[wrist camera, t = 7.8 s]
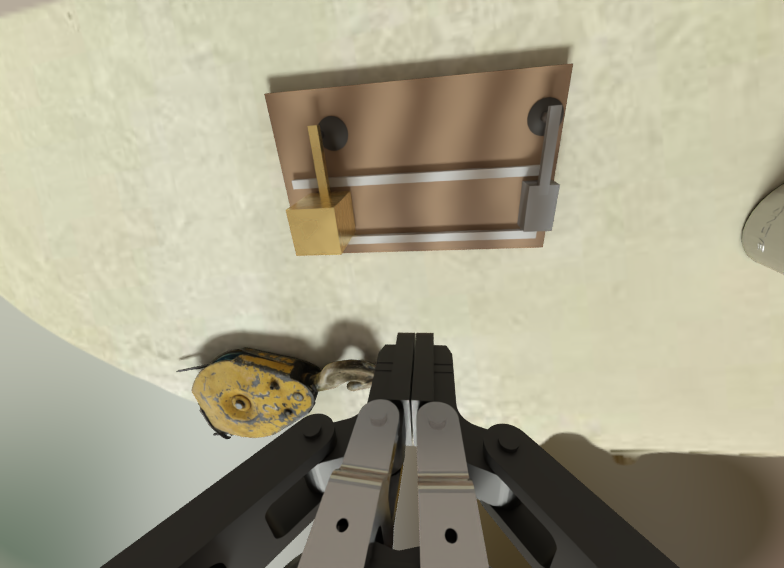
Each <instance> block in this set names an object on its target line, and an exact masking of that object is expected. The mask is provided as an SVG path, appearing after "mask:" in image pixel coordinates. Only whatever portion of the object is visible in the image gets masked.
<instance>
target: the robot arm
mask: <svg viewBox="0 0 784 568" xmlns="http://www.w3.org/2000/svg"><path fill="white" fill-rule="evenodd" d="M742 244H743V248H744V251H745V252H746V254H747V255H748V256H749V257H750V258H751V259H752V260H754V261H755V262H758V263H760V264H762V265H764V266H766V267H768V268H771V269H773V270H775V271H777V272H779V273H781V274H784V184H782V185H781V186H779V187H778V188H777V189H775V190H774V191H772V192H771V193H770V194H769V195H768V196H767V197H765V198H764V199H763V200H762V201H761V202H760V203H759V205H758V206H757V207H756V208H755V209H754V210H753V212H752V213H751V215H750V217H749V218H748V220H747V222H746V224H745V227H744V230H743V235H742ZM412 439H414V446H417V466H418V501H419V502H418V504H419V535H420V546H419V547H414V548H410V549H405V550H400V551H398V550H394V549H393V541H394V540H393V539H394V525H395V517H396V512H397V505H398V499H399V493H400V487H401V480H402V474H403V466H404V465H403V463H404V458H405V446H406V445H407V446H412ZM476 498H477V499H479V500H480V502H481V503H482V506H483V507H484V508H485V510H486V511H487V512H488V513H489V515H490V516H491V517H492V518H493V519H494V521H495V522H496V523H497V525H498V526H499V527H500V528H501V529H502V531H503V532H504V533H505V534H506V536H507V537H508V538H509V539H510V541H511V542H512V543H513V544H514V546H515V547H516V548H517V549H518V550H519V552H520V553H521V554H522V555H523V557H524V558H525V559H526V560H527V561H528V563H529V564H530V565H531V566H532V567H533V568H679V567H678V566H677V565H676V564H675V563H673V562H672V561H671V560H670V559H669V558H668V557H666V556H665V555H664V554H663V553H662V552H661V551H660V550H658V549H657V548H656V547H655V546H654V545H653V544H652V543H650V542H649V541H648V540H647V539H646V538H645V537H644V536H642V535H641V534H640V533H639V532H638V531H637V530H635V529H634V528H633V527H632V526H631V525H630V524H629V523H627V522H626V521H625V520H624V519H623V518H622V517H621V516H619V515H618V514H617V513H616V512H615V511H614V510H612V509H611V508H610V507H609V506H608V505H607V504H606V503H604V502H603V501H602V500H601V499H600V498H599V497H597V496H596V495H595V494H594V493H593V492H592V491H591V490H589V489H588V488H587V487H586V486H585V485H584V484H583V483H581V482H580V481H579V480H578V479H577V478H576V477H574V476H573V475H572V474H571V473H570V472H569V471H568V470H567V469H565V468H564V467H563V466H562V465H561V464H560V463H558V462H557V461H556V460H555V459H554V458H553V457H552V456H550V455H549V454H548V453H547V452H546V451H545V450H544V449H542V448H541V447H540V446H539V445H538V444H537V443H536V442H534V441H533V440H532V439H531V438H530V437H529V436H528V435H526V434H525V433H524V432H523V431H522V430H520V429H519V428H517V427H515V426H512V425H509V424H496V425H493V426H491V427H490V428H489V429H488V430H487V429H484V428H482V427H479V426H476V425H473V424H471V423H470V422H468V421H467V420H465V419H464V418H463V417H462V416H461V415H460V413H459V411H458V409H457V406H456V395H455V383H454V370H453V358H452V353H451V352H450V350H449V349H448V347H447V346H443V345H434V335H433V333H416V337H415V333H398V335H397V341H396V345H385V346H384V347H383V348H382V349H381V351H380V352H379V354H378V358H377V364H376V367H375V372H374V376H373V381H372V385H371V389H370V394H369V398H368V402H367V404H365V405H364V406H363V407H362V408H361V410H360V412H359V414H357V415H356V416H354V417H352V418H349V419H345V420H341V421H337V422H333V421H332V419H331V418H330V417H328V416H326V415H324V414H312V415H309V416H307V417H305V418H303V419H302V420H300V421H299V422H297V423H296V424H295V425H293V426H292V427H291V428H289V429H288V430H287V431H285V432H284V433H283V434H281V435H280V436H278V437H277V438H276V439H274V440H273V441H272V442H270V443H269V444H268V445H266V446H265V447H263V448H262V449H261V450H260V451H258V452H257V453H255V454H254V455H253V456H251V457H250V458H249V459H247V460H246V461H245V462H243V463H242V464H240V465H239V466H238V467H236V468H235V469H234V470H233V471H231V472H229V473H228V474H227V475H225V476H224V477H223V478H221V479H220V480H219V481H217V482H216V483H214V484H213V485H212V486H210V487H209V488H208V489H206V490H205V491H204V492H202V493H201V494H200V495H198V496H197V497H195V498H194V499H193V500H191V501H190V502H189V503H187V504H186V505H184V506H183V507H182V508H180V509H179V510H178V511H176V512H175V513H174V514H172V515H171V516H170V517H168V518H167V519H165V520H164V521H163V522H161V523H160V524H159V525H157V526H156V527H155V528H153V529H152V530H151V531H149V532H148V533H146V534H145V535H144V536H142V537H141V538H140V539H138V540H137V541H136V542H134V543H133V544H131V545H130V546H129V547H127V548H126V549H125V550H123V551H122V552H121V553H119V554H118V555H116V556H115V557H114V558H112V559H111V560H110V561H108V562H107V563H106V564H104V565H103V566H102V567H100V568H265V567H266V566H267V565H268V564H269V563H270V562H271V561H272V560H273V559H274V558H275V557H276V556H277V555H278V554H279V553H280V552H281V551H282V550H283V549H284V548H285V547H286V546H287V545H288V544H289V543H290V542H291V541H292V540H294V539H295V537H297V536H298V535H299V534H300V533H301V532H302V531H303V530H304V529H305V528H306V527H307V526H308V525H309V524H310V523H311V522H312V521H313V520H314V519H315V520H314V522H313V525H312V528H311V531H310V534H309V537H308V539H307V543H306V545H305V548H304V551H303V553H301V554H300V555H298V556H297V557H295V558H294V559H293V560H292V561H291V562H289V563H288V564H287V565H286V566H285V567H284V568H492V567H490V566H489V565H488V560H487V555H486V549H485V544H484V538H483V533H482V527H481V522H480V517H479V511H478V506H477V500H476Z"/></svg>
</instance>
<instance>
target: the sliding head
mask: <svg viewBox="0 0 784 568" xmlns="http://www.w3.org/2000/svg"><path fill="white" fill-rule="evenodd" d="M307 127H308V132H309V138H310V143H311V149H312V154H313V160H314V165H315V171H316V176H317V182H318V187H319V193H310V194H308V195H307V196H305V197H304V198H303V199H301V200H300V201H298V202H297V203H295V204H294V205H292V206H291V207H289V208H288V209H287V210H286V213H287V218H288V222H289V226H290V230H291V234H292V239H293V243H294V247H295V251H296V256H305V255H341V254H342V253H343V251H344V249H345V248H346V246H347V245H348V243H349V241H350V240H351V238H352V236H353V235H354V233H355V232H356V229H355V221H354V214H353V206H352V199H351V192H350V191H341V192H331V191H330V185H329V179H328V173H327V166H326V160H325V154H324V148H323V142H322V139H324V136H325V135H324V132H323V131H322V130H320V125H313V126H307Z"/></svg>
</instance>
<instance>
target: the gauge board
mask: <svg viewBox="0 0 784 568" xmlns="http://www.w3.org/2000/svg"><path fill="white" fill-rule="evenodd" d="M572 67H573V64H563V65H553V66H543V67H533V68H522V69H512V70H502V71H492V72H482V73H471V74H461V75H451V76H441V77H431V78H420V79H410V80H400V81H390V82H380V83H369V84H359V85H349V86H339V87H329V88H318V89H308V90H298V91H288V92H278V93H267V94H264V95H265V99H266V103H267V108H268V112H269V116H270V121H271V125H272V129H273V134H274V138H275V142H276V147H277V151H278V156H279V160H280V164H281V169H282V173H283V177H284V182H285V186H286V190H287V195H288V199H289V203H290V207H291V206H292V205H294V204H295V203H297V202H298V201H300V200H301V199H303V198H304V197H305V196H307V195H308V194H310V193H319V187H318V182H317V176H316V171H315V165H314V160H313V154H312V149H311V143H310V138H309V132H308V127H307V126H313V125H320V130H322V131H323V132H324V135H325V136H324V139H322V142H323V148H324V154H325V160H326V166H327V173H328V179H329V185H330V191H331V192H341V191H350V192H351V199H352V206H353V214H354V221H355V229H356V232H355V233H354V235H353V236H352V238H351V240H350V241H349V243H348V245H347V246H346V248H345V249H344V251H343V253H363V252H398V251H432V250H467V249H501V248H536V247H543V243H544V237H545V231H552V227H553V221H554V215H555V209H556V204H557V198H558V192H559V187H560V184H558V183H556V182H554V176H555V170H556V164H557V158H558V152H559V146H560V140H561V134H562V128H563V122H564V116H565V110H566V104H567V98H568V92H569V86H570V79H571V73H572Z"/></svg>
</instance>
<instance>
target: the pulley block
mask: <svg viewBox="0 0 784 568" xmlns="http://www.w3.org/2000/svg"><path fill="white" fill-rule="evenodd" d="M205 367H206V368H205ZM375 367H376V365H375V364H372V363H369V362H367V361H364V360H342V361H336V362H332V363H330V364H328V365H326V366H325V367H324V368H323V370H322V371H321V370H320V369H319V368H318V367H317V366H315V365H313V364H311V363H308V362H305V361H302V360H299V359H295V358H290V357H286V356H280V355H275V354H271V353H267V352H262V351H258V350H254V349H249V348H243V349H242V350H239V349H237V350H230V351H227V352H225V353H223V354H221V355H219V356H218V357H217V358H215V359H214V360H213V362H212V363H211V364H207V365H202V366H197V367H192V368H187V369H183V370H178V371H176V372H181V371H188V370H193V369H201V368H204V369H203V370H202V371H201V372H199V374H198V375H197V377H196V378H195V381H194V383H193V387H192V393H193V394H194V396H195V398H196V399H197V401H198V405H199V406H200V412H201V414H202V415H203V416H204V418H205V420H206V421H207V423H208V425H209V426H210V427H211V428H212V429H213V430H214V431H216V432H217V433H214V434H213V435H220V436H221V437H223V438H225V439H230V438H231V437H229V436H227V434H228V433H229V434H230V435H231V436H232V435H237V436H241V437H249V438H259V437H266V436H270V435H274V434H276V433H277V432H279V431H281V430H283V429H284V428H286V427H288V426H289V425H291V424H293V423H294V422H296V421H297V420H299V419H301V418H302V417H304V416H305V415H307V414H308V413H309V412H310V411H311V410H312V408H313V406H314V405H315V403H316V402H315V400H316V397H317V394H318V391H324V390H329V389H333V388H336V387H338V386H339V385H341V384H343V383H345V382H348V381H350V382H349V383H348V384H347V389H348V390H350V391H357V390H361V389H366V388H371V385H372V381H373V376H374V372H375Z"/></svg>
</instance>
